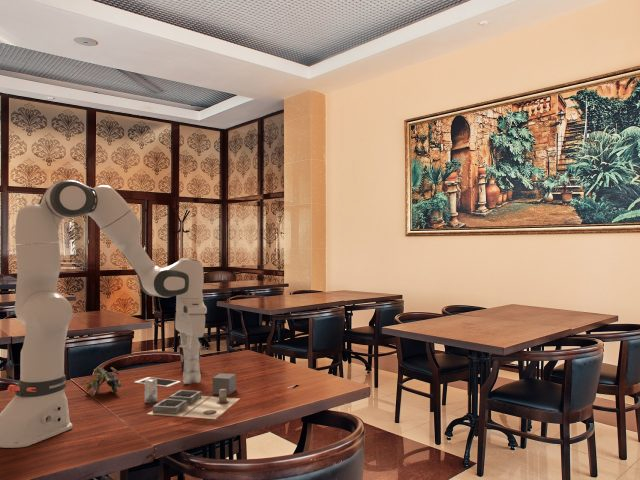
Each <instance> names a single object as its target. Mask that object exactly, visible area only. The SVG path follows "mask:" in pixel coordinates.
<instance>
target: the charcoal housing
mask: <svg viewBox="0 0 640 480" xmlns="http://www.w3.org/2000/svg"><path fill="white" fill-rule="evenodd" d="M236 378H237V374H236V373H220V372H219V373H218V374H217V375H215V376H213V377H212V395H219V390H220V389H227V396H230V395H231V394H233V393H235V391H237V382H236V381H237V379H236Z"/></svg>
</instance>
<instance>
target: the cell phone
mask: <svg viewBox="0 0 640 480" xmlns="http://www.w3.org/2000/svg"><path fill="white" fill-rule="evenodd" d="M147 379H157V387H164V388H169V387H172V386H175V385H176V384H177V385H178V384H179V383H181V380H175V379H174V380H173V379H166V378H160V377H159V378H158V377H151V376H148V377H144V378H142V379H138V380H136V381H134V383H135V384H140V385H141V384H143V385H145V380H147Z"/></svg>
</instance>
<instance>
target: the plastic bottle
mask: <svg viewBox="0 0 640 480" xmlns="http://www.w3.org/2000/svg"><path fill="white" fill-rule="evenodd" d="M186 338H187V339H186V340H187V345H182V346H183V353H184V371H182V372H183V373H182V382H183V384H184V385H185V384H186V385H192V384H196V383H197V384H199V383H200V382H201V379H202V375H201V370H200V359H199V352H200V350H201V342H200V341H199V339H198V341H197V344H196V349H195V350H191V349H190V344H191V336H189V335H187V334H186Z"/></svg>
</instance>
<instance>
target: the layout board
mask: <svg viewBox="0 0 640 480" xmlns="http://www.w3.org/2000/svg"><path fill="white" fill-rule="evenodd" d="M240 399H241V398H239V397H238V398H237V397H228V395H227V389H220V390H219V394H218V396H205V395H202V390H186V389H180V390H177V391H176V392H175V393H173V394H171V395H169V396H168V398H164V399H163V400H160V401H159V402H157V403H156V404H154V405H153V406H152V410H151V411H150V412H148V413H147V415H153V416H155V415H156V416H169V417H180V418H181V417H182V418H183V417H184V418H197V419H208V420H209V419H210V420H217V419H218V418H220V417H221V415H222V414H224V413H225V412H226V411H227V410H228V409H230V408H231V407H232V406H233V405H235V404H236V403H238V401H239V400H240Z"/></svg>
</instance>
